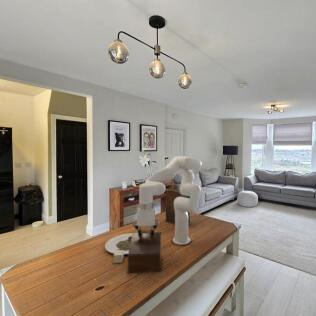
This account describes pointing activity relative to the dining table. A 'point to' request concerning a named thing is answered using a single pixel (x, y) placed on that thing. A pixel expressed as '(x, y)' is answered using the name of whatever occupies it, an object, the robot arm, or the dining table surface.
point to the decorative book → (170, 197)
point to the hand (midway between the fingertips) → (146, 236)
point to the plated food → (119, 243)
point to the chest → (144, 262)
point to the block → (118, 256)
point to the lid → (145, 243)
